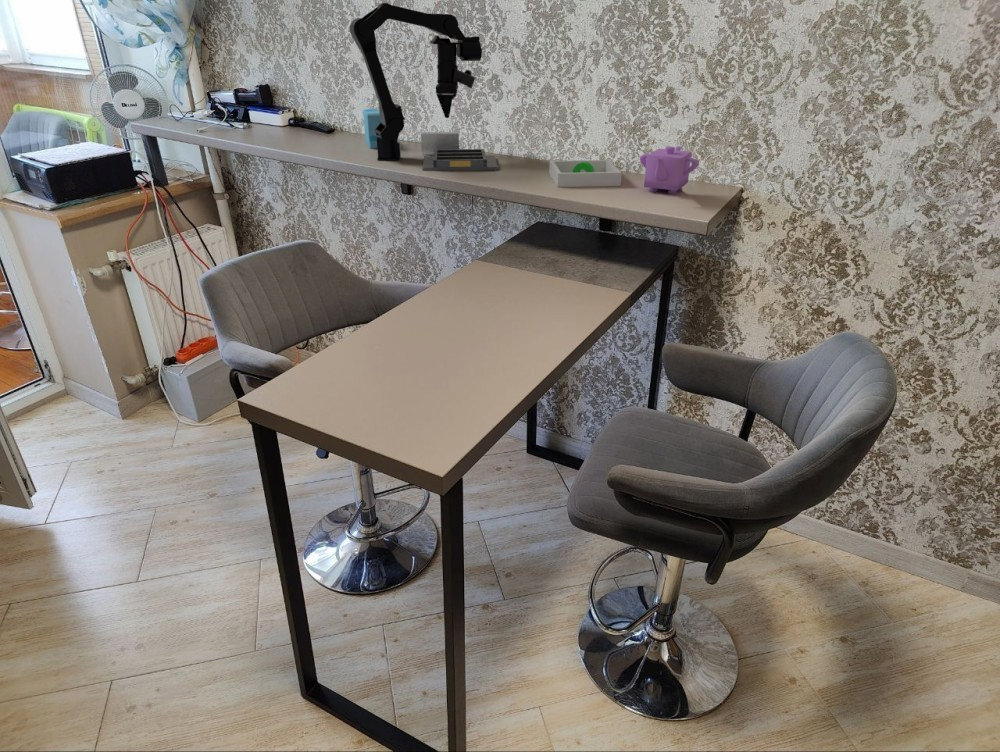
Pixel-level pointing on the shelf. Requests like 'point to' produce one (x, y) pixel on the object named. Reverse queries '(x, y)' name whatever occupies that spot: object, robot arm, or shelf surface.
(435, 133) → the panel
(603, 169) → the parts corral
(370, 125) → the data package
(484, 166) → the rack
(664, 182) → the teapot
